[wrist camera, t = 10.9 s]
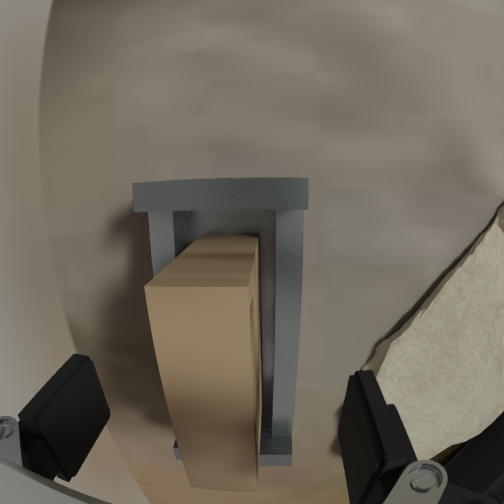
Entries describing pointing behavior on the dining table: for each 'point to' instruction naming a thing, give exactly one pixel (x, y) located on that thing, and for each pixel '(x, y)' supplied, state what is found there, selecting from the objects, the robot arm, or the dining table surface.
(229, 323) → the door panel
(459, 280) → the stone tablet
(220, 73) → the dining table surface
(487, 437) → the magazine
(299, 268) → the grey open holder
